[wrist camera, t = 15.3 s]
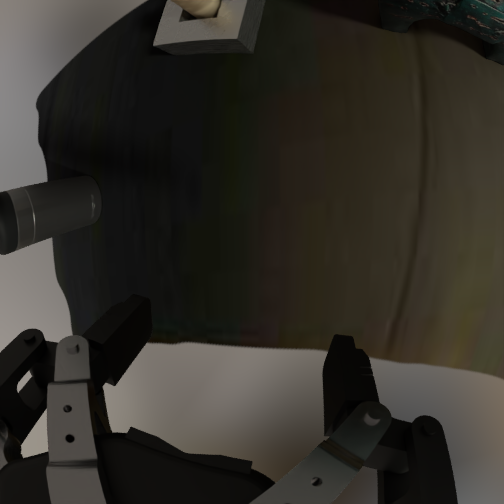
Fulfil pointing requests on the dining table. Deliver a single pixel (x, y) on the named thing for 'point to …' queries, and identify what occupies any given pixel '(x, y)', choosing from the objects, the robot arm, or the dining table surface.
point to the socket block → (210, 29)
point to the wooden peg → (200, 7)
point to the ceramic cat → (451, 19)
